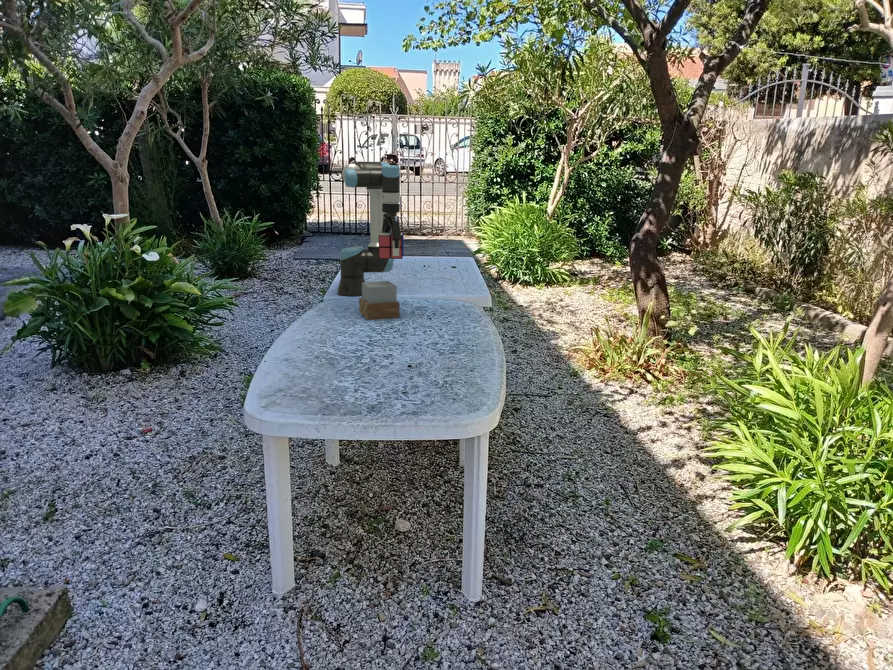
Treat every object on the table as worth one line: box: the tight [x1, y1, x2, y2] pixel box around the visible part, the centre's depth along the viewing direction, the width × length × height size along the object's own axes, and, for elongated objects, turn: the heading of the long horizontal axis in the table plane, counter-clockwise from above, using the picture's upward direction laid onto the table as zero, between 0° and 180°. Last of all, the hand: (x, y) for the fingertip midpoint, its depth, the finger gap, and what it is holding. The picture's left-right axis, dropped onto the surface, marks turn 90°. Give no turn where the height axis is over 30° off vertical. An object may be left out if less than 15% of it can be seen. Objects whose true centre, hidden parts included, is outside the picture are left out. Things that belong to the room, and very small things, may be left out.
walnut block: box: [358, 297, 400, 321], centre depth 276 cm, size 14×14×7 cm
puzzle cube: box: [379, 232, 404, 260], centre depth 273 cm, size 10×10×10 cm
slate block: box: [361, 280, 397, 304], centre depth 275 cm, size 12×12×7 cm
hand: (391, 253), depth 274 cm, fingers closed on puzzle cube, 12 cm apart
